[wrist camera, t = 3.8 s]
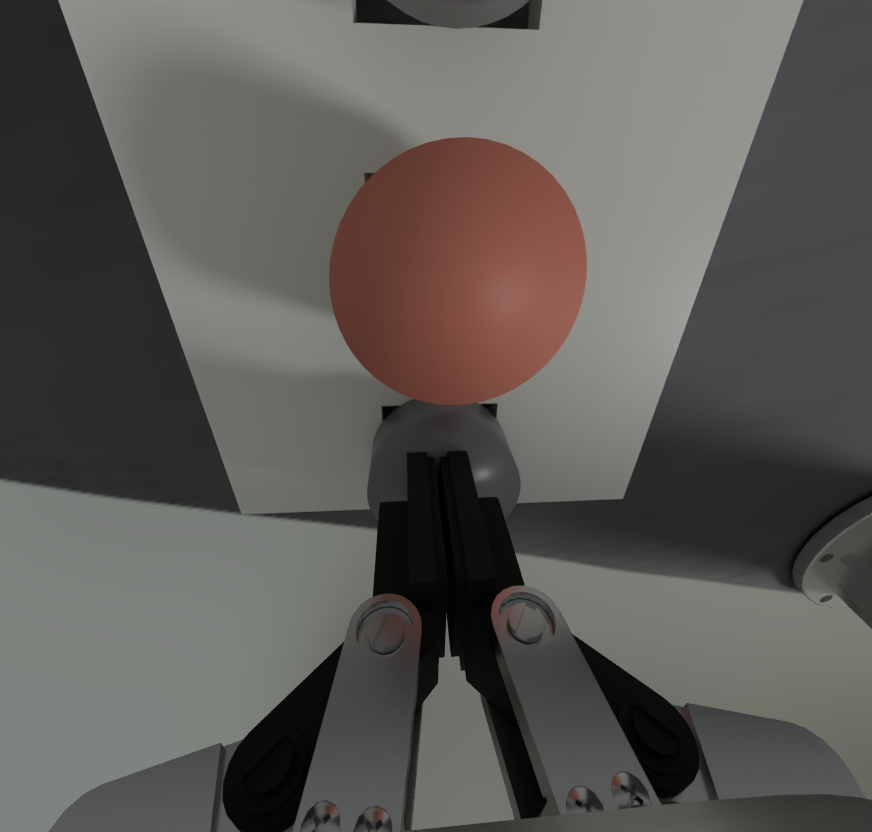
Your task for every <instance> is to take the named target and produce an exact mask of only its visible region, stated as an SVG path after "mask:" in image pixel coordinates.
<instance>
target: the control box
mask: <svg viewBox="0 0 872 832" xmlns="http://www.w3.org/2000/svg"><path fill="white" fill-rule="evenodd" d="M58 1H59V3H60V6H61V9H62V12H63V15H64V17H65V20H66V23H67V26H68V29H69V31H70V34H71V37H72V40H73V43H74V45H75V48H76V51H77V54H78V57H79V60H80V62H81V65H82V68H83V71H84V74H85V76H86V79H87V82H88V85H89V88H90V90H91V93H92V96H93V99H94V102H95V104H96V107H97V110H98V113H99V116H100V118H101V121H102V124H103V127H104V130H105V132H106V135H107V138H108V141H109V144H110V146H111V149H112V152H113V155H114V158H115V161H116V163H117V166H118V169H119V172H120V175H121V177H122V180H123V183H124V186H125V189H126V191H127V194H128V197H129V200H130V203H131V205H132V208H133V211H134V214H135V217H136V219H137V222H138V225H139V228H140V231H141V233H142V236H143V239H144V242H145V245H146V247H147V250H148V253H149V256H150V259H151V261H152V264H153V267H154V270H155V273H156V276H157V278H158V281H159V284H160V287H161V290H162V292H163V295H164V298H165V301H166V304H167V306H168V309H169V312H170V315H171V318H172V320H173V323H174V326H175V329H176V332H177V334H178V337H179V340H180V343H181V346H182V348H183V351H184V354H185V357H186V360H187V362H188V365H189V368H190V371H191V374H192V377H193V379H194V382H195V385H196V388H197V391H198V393H199V396H200V399H201V402H202V405H203V407H204V410H205V413H206V416H207V419H208V421H209V424H210V427H211V430H212V433H213V435H214V438H215V441H216V444H217V447H218V449H219V452H220V455H221V458H222V461H223V463H224V466H225V469H226V472H227V475H228V477H229V480H230V483H231V486H232V489H233V492H234V494H235V497H236V500H237V503H238V506H239V508H240V511H241V514H265V513H289V512H314V511H338V510H363V509H370V507H369V504H368V499H367V486H368V478H369V471H370V463H371V455H372V447H373V440H374V437H375V434H376V432H377V430H378V428H379V426H380V425H381V423H382V422H383V420H384V419H385V418H386V417H387V416H388V415H389V414H390V413H391V412H392V411H394V410H395V409H396V408H398V407H399V406H401V405H402V404H404V403H406V402H408V401H411V400H413V399H412V398H410V397H407V396H405V395H402V394H400V393H398V392H396V391H394V390H393V389H391V388H389V387H387V386H386V385H384V384H383V383H382V382H380V381H379V380H378V379H376V378H375V377H374V376H373V375H372V374H371V373H369V372H368V371H367V370H366V369H365V368H364V367H363V366H362V364H361V363H360V362H359V361H358V360H357V358H356V357H355V356H354V355H353V353H352V351H351V350H350V348H349V347H348V345H347V344H346V342H345V340H344V338H343V336H342V334H341V332H340V330H339V327H338V324H337V321H336V318H335V315H334V312H333V307H332V302H331V297H330V285H329V269H330V257H331V252H332V247H333V242H334V239H335V236H336V233H337V230H338V227H339V224H340V222H341V220H342V218H343V216H344V214H345V212H346V210H347V208H348V206H349V204H350V202H351V201H352V200H353V198H354V197H355V195H356V194H357V192H358V191H359V189H360V188H361V187H362V186H363V185H364V184H365V183H366V182H367V180H368V179H369V178H370V177H371V176H372V175H373V174H374V173H375V172H376V171H378V170H379V169H380V168H381V167H383V166H384V165H385V164H386V163H387V162H389V161H390V160H392V159H393V158H395V157H397V156H398V155H400V154H402V153H404V152H405V151H407V150H409V149H412V148H414V147H417V146H419V145H422V144H424V143H427V142H432V141H436V140H440V139H445V138H457V137H472V138H482V139H488V140H492V141H496V142H499V143H503V144H506V145H508V146H511V147H513V148H515V149H517V150H519V151H522V152H524V153H525V154H527V155H528V156H530V157H531V158H532V159H534V160H535V161H537V162H538V163H540V164H541V165H542V166H543V167H544V168H545V169H546V170H547V171H548V172H549V173H551V174H552V175H553V176H554V178H555V179H556V180H557V181H558V183H559V184H560V185H561V187H562V188H563V189H564V190H565V192H566V194H567V195H568V197H569V199H570V201H571V202H572V204H573V206H574V208H575V210H576V213H577V216H578V218H579V221H580V223H581V227H582V231H583V235H584V239H585V245H586V255H587V277H586V284H585V291H584V296H583V300H582V303H581V307H580V310H579V313H578V315H577V318H576V320H575V323H574V325H573V327H572V329H571V331H570V333H569V335H568V336H567V338H566V340H565V341H564V343H563V344H562V346H561V347H560V349H559V350H558V352H557V353H556V354H555V355H554V356H553V357H552V359H551V360H550V361H549V362H548V363H547V364H546V365H545V366H544V367H543V368H542V369H541V370H540V371H539V372H538V373H537V374H535V375H534V376H533V377H531V378H530V379H529V380H527V381H526V382H525V383H523V384H522V385H520V386H518V387H516V388H515V389H513V390H511V391H509V392H507V393H505V394H503V395H500V396H498V397H495V398H492V399H489V400H486V401H482V402H477V403H479V404H481V405H483V406H484V407H485V408H487V409H488V410H489V411H490V412H491V413H492V414H493V415H494V416H495V417H496V419H497V420H498V422H499V423H500V425H501V427H502V430H503V432H504V435H505V437H506V440H507V442H508V445H509V448H510V450H511V453H512V455H513V458H514V460H515V463H516V466H517V468H518V471H519V475H520V482H521V487H520V494H519V498H518V501H517V503H534V502H559V501H583V500H608V499H623V497H624V495H625V492H626V489H627V486H628V483H629V481H630V478H631V475H632V472H633V470H634V467H635V464H636V461H637V459H638V456H639V453H640V450H641V448H642V445H643V442H644V439H645V436H646V434H647V431H648V428H649V425H650V423H651V420H652V417H653V414H654V412H655V409H656V406H657V403H658V401H659V398H660V395H661V392H662V390H663V387H664V384H665V381H666V378H667V376H668V373H669V370H670V367H671V365H672V362H673V359H674V356H675V354H676V351H677V348H678V345H679V343H680V340H681V337H682V334H683V331H684V329H685V326H686V323H687V320H688V318H689V315H690V312H691V309H692V307H693V304H694V301H695V298H696V296H697V293H698V290H699V287H700V284H701V282H702V279H703V276H704V273H705V271H706V268H707V265H708V262H709V260H710V257H711V254H712V251H713V249H714V246H715V243H716V240H717V238H718V235H719V232H720V229H721V226H722V224H723V221H724V218H725V215H726V213H727V210H728V207H729V204H730V202H731V199H732V196H733V193H734V191H735V188H736V185H737V182H738V179H739V177H740V174H741V171H742V168H743V166H744V163H745V160H746V157H747V155H748V152H749V149H750V146H751V144H752V141H753V138H754V135H755V132H756V130H757V127H758V124H759V121H760V119H761V116H762V113H763V110H764V108H765V105H766V102H767V99H768V97H769V94H770V91H771V88H772V86H773V83H774V80H775V77H776V74H777V72H778V69H779V66H780V63H781V61H782V58H783V55H784V52H785V50H786V47H787V44H788V41H789V39H790V36H791V33H792V30H793V27H794V25H795V22H796V19H797V16H798V14H799V11H800V8H801V5H802V3H803V0H530V1H529V2H528V3H527V4H525V5H524V6H523V7H521V8H520V9H518V10H516V11H515V12H513V13H512V14H510V15H508V16H507V17H505V18H502V19H500V20H498V21H495V22H493V23H490V24H487V25H483V26H478V27H474V28H460V29H453V28H445V27H438V26H435V25H431V24H428V23H425V22H422V21H419V20H418V19H416V18H414V17H412V16H410V15H408V14H406V13H404V12H402V11H401V10H400V9H398V8H397V7H395V6H394V5H393V4H391V3H390V2H388V1H387V0H58Z"/></svg>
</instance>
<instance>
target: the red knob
mask: <svg viewBox="0 0 872 832" xmlns="http://www.w3.org/2000/svg"><path fill="white" fill-rule="evenodd" d="M586 277H587V255H586V245H585V239H584V235H583V231H582V227H581V223H580V221H579V218H578V216H577V213H576V210H575V208H574V206H573V204H572V202H571V201H570V199H569V197H568V195H567V194H566V192H565V190H564V189H563V188H562V187H561V185H560V184H559V183H558V181H557V180H556V179H555V178H554V176H553V175H552V174H551V173H549V172H548V171H547V170H546V169H545V168H544V167H543V166H542V165H541V164H540V163H538V162H537V161H535V160H534V159H532V158H531V157H530V156H528V155H527V154H525V153H524V152H522V151H519V150H517V149H515V148H513V147H511V146H508V145H506V144H503V143H499V142H496V141H492V140H488V139H482V138H472V137H457V138H445V139H440V140H436V141H432V142H427V143H424V144H422V145H419V146H417V147H414V148H412V149H409V150H407V151H405V152H404V153H402V154H400V155H398V156H397V157H395V158H393V159H392V160H390V161H389V162H387V163H386V164H385V165H384V166H383V167H381V168H380V169H379V170H378V171H376V172H375V173H374V174H373V175H372V176H371V177H370V178H369V179H368V180H367V182H366V183H365V184H364V185H363V186H362V187H361V188H360V189H359V191H358V192H357V194H356V195H355V197H354V198H353V200H352V201H351V202H350V204H349V206H348V208H347V210H346V212H345V214H344V216H343V218H342V220H341V222H340V224H339V227H338V230H337V233H336V236H335V239H334V242H333V247H332V252H331V257H330V269H329V285H330V297H331V302H332V307H333V312H334V315H335V318H336V321H337V324H338V327H339V330H340V332H341V334H342V336H343V338H344V340H345V342H346V344H347V345H348V347H349V348H350V350H351V351H352V353H353V355H354V356H355V357H356V358H357V360H358V361H359V362H360V363H361V364H362V366H363V367H364V368H365V369H366V370H367V371H368V372H369V373H371V374H372V375H373V376H374V377H375V378H376V379H378V380H379V381H380V382H382V383H383V384H384V385H386V386H387V387H389V388H391V389H393V390H394V391H396V392H398V393H400V394H402V395H405V396H407V397H410V398H412V399H415V400H419V401H423V402H426V403H433V404H439V405H463V404H472V403H477V402H482V401H486V400H489V399H492V398H495V397H498V396H500V395H503V394H505V393H507V392H509V391H511V390H513V389H515V388H516V387H518V386H520V385H522V384H523V383H525V382H526V381H527V380H529V379H530V378H531V377H533V376H534V375H535V374H537V373H538V372H539V371H540V370H541V369H542V368H543V367H544V366H545V365H546V364H547V363H548V362H549V361H550V360H551V359H552V357H553V356H554V355H555V354H556V353H557V352H558V350H559V349H560V347H561V346H562V344H563V343H564V341H565V340H566V338H567V336H568V335H569V333H570V331H571V329H572V327H573V325H574V323H575V320H576V318H577V315H578V313H579V310H580V307H581V303H582V300H583V296H584V291H585V284H586Z"/></svg>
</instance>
